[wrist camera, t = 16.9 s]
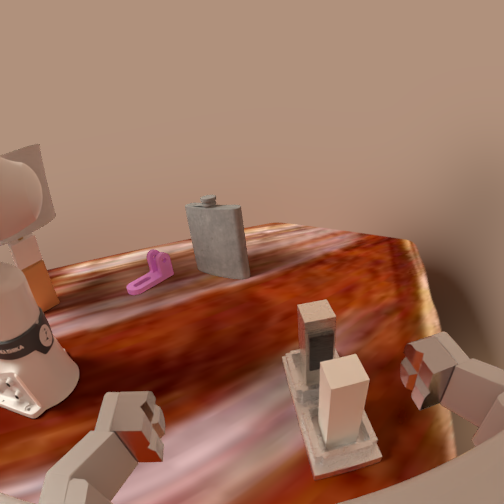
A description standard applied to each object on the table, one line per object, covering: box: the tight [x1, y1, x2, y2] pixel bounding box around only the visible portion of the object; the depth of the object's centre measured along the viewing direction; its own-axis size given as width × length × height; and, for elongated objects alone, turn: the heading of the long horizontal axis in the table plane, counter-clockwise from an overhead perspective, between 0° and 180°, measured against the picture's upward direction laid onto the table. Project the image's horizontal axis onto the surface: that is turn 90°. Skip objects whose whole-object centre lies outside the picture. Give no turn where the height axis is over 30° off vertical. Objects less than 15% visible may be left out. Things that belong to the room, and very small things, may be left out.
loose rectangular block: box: [318, 354, 370, 449], centre depth 32 cm, size 4×5×12 cm
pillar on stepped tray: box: [282, 299, 382, 481], centre depth 38 cm, size 8×22×14 cm, turn 6°
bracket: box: [127, 249, 174, 295], centre depth 80 cm, size 13×6×7 cm, turn 142°
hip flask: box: [185, 195, 250, 279], centre depth 77 cm, size 16×4×20 cm, turn 58°
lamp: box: [0, 144, 60, 313], centre depth 66 cm, size 23×23×42 cm
